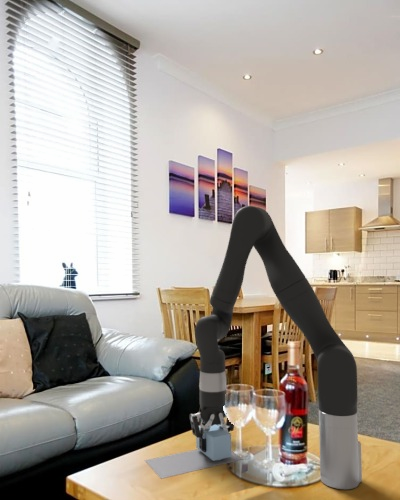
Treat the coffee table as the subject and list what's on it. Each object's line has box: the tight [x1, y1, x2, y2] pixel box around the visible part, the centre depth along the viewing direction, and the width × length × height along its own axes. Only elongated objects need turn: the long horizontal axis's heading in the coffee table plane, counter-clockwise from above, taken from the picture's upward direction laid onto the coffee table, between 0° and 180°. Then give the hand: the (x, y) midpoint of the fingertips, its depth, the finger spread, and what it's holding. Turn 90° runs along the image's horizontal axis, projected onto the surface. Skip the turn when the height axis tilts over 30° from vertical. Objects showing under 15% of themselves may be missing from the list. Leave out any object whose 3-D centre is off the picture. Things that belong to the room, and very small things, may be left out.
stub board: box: [144, 448, 244, 480], centre depth 118 cm, size 24×12×4 cm, turn 117°
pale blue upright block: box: [195, 425, 232, 461], centre depth 121 cm, size 6×10×6 cm, turn 27°
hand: (213, 448), depth 121 cm, fingers closed on pale blue upright block, 5 cm apart
